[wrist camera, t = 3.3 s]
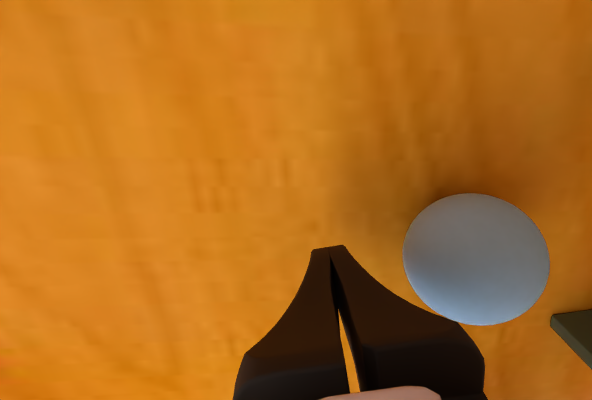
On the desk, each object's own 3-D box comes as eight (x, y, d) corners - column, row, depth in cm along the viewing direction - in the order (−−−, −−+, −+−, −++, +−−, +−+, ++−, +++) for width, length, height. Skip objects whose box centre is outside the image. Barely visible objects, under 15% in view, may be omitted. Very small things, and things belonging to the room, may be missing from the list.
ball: (494, 263, 16) (574, 345, 12) (391, 279, 17) (430, 365, 12) (502, 166, 14) (602, 219, 10) (384, 185, 15) (429, 246, 10)
